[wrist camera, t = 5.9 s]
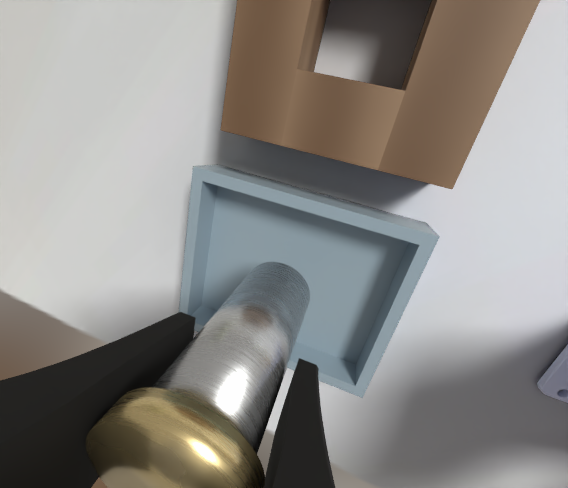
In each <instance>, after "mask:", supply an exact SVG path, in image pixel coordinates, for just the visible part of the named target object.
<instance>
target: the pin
mask: <svg viewBox="0 0 568 488" xmlns="http://www.w3.org/2000/svg"><path fill="white" fill-rule="evenodd" d="M309 302H310V291H309V287H308V284H307V282H306V280H305V279H304V278H303V276H302V275H301V274H300V273H299V272H298V271H297V270H295V269H294V268H292V267H291V266H289V265H286V264H284V263H280V262H265V263H262V264H259V265H258V266H256V267H255V268H253V269H252V271H251V272H250V273H249V274H248V275H247V276H246V278H245V279H244V280H243V281H242V282H241V283H240V285H239V286H238V287H237V288H236V289H235V290H234V292H233V293H232V294H231V295H230V296H229V297H228V299H227V300H226V301H225V302H224V303H223V305H222V306H221V307H220V308H219V309H218V310H217V312H216V313H215V314H214V315H213V316H212V317H211V319H210V320H209V321H208V322H207V323H206V324H205V326H204V327H203V328H202V329H201V330H200V332H199V333H198V334H197V335H196V336H195V337H194V339H193V340H192V341H191V342H190V343H189V344H188V346H187V347H186V348H185V349H184V350H183V351H182V353H181V354H180V355H179V356H178V357H177V359H176V360H175V361H174V362H173V363H172V364H171V366H170V367H169V368H168V369H167V370H166V371H165V373H164V374H163V375H162V376H161V377H160V378H159V380H158V381H157V382H156V383H155V384H154V386H153V387H142V388H137V389H133V390H131V391H128V392H127V393H125V394H124V395H123V396H122V397H121V398H120V399H119V400H118V401H117V402H116V403H115V404H114V405H113V406H112V408H111V409H110V410H109V411H108V412H107V413H106V414H105V415H104V416H103V417H102V418H101V419H100V420H99V421H98V422H97V424H96V425H95V426H94V427H93V428H92V429H91V430H90V431H89V433H88V435H87V437H86V451H87V454H88V457H89V460H90V462H91V464H92V466H93V468H94V469H95V471H96V473H97V474H98V476H99V477H100V478H101V480H102V481H103V482H104V483H105V485H106V486H107V487H108V488H264V485H265V475H264V470H263V467H262V464H261V462H260V460H259V458H258V456H257V452H258V449H259V446H260V444H261V441H262V438H263V435H264V432H265V429H266V426H267V423H268V421H269V418H270V415H271V412H272V409H273V406H274V403H275V400H276V397H277V395H278V392H279V389H280V386H281V383H282V380H283V377H284V374H285V371H286V369H287V366H288V363H289V360H290V357H291V354H292V351H293V348H294V346H295V343H296V340H297V337H298V334H299V331H300V328H301V325H302V322H303V320H304V317H305V314H306V311H307V308H308V305H309Z"/></svg>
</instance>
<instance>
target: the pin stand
mask: <svg viewBox="0 0 568 488" xmlns="http://www.w3.org/2000/svg"><path fill="white" fill-rule="evenodd" d="M539 2H540V0H432V1H431V4H430V7H429V10H428V12H427V15H426V18H425V21H424V24H423V27H422V30H421V33H420V36H419V39H418V41H417V44H416V47H415V50H414V53H413V56H412V59H411V62H410V65H409V68H408V70H407V73H406V76H405V79H404V82H403V85H402V88H401V90H399V89H394V88H389V87H384V86H379V85H374V84H369V83H364V82H359V81H354V80H349V79H344V78H340V77H335V76H330V75H325V74H320V73H315V72H314V68H315V64H316V59H317V55H318V51H319V47H320V42H321V38H322V34H323V29H324V25H325V21H326V16H327V12H328V8H329V3H330V0H237V7H236V15H235V22H234V30H233V38H232V45H231V53H230V61H229V69H228V76H227V84H226V92H225V100H224V107H223V115H222V123H221V130H222V131H225V132H229V133H233V134H237V135H241V136H245V137H249V138H253V139H257V140H261V141H265V142H269V143H273V144H276V145H280V146H284V147H288V148H292V149H296V150H300V151H304V152H308V153H312V154H316V155H320V156H324V157H327V158H331V159H335V160H339V161H343V162H347V163H351V164H355V165H359V166H363V167H367V168H371V169H375V170H378V171H382V172H386V173H390V174H394V175H398V176H402V177H406V178H410V179H414V180H418V181H422V182H426V183H429V184H433V185H437V186H441V187H445V188H449V189H453V187H454V185H455V182H456V180H457V178H458V176H459V174H460V172H461V170H462V167H463V165H464V163H465V161H466V159H467V157H468V154H469V152H470V150H471V148H472V146H473V144H474V142H475V139H476V137H477V135H478V133H479V131H480V129H481V126H482V124H483V122H484V120H485V118H486V116H487V114H488V111H489V109H490V107H491V105H492V103H493V101H494V99H495V96H496V94H497V92H498V90H499V88H500V86H501V83H502V81H503V79H504V77H505V75H506V73H507V71H508V68H509V66H510V64H511V62H512V60H513V58H514V55H515V53H516V51H517V49H518V47H519V45H520V43H521V40H522V38H523V36H524V34H525V32H526V30H527V28H528V25H529V23H530V21H531V19H532V17H533V15H534V12H535V10H536V8H537V6H538V4H539Z"/></svg>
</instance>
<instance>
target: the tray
mask: <svg viewBox="0 0 568 488" xmlns="http://www.w3.org/2000/svg"><path fill="white" fill-rule="evenodd" d="M438 239H439V235H438V234H437V233H436V232H435V231H434V230H433V229H432V228H431V227H430V226H429V225H428V224H427V223H425V222H421V221H417V220H414V219H410V218H407V217H403V216H400V215H396V214H392V213H389V212H385V211H382V210H378V209H374V208H371V207H367V206H364V205H360V204H357V203H353V202H349V201H346V200H342V199H339V198H335V197H332V196H328V195H324V194H321V193H317V192H314V191H310V190H307V189H303V188H299V187H296V186H292V185H289V184H285V183H281V182H278V181H274V180H271V179H267V178H264V177H260V176H256V175H253V174H249V173H246V172H242V171H239V170H235V169H231V168H228V167H224V166H221V165H204V166H193V173H192V183H191V193H190V203H189V213H188V223H187V233H186V244H185V254H184V264H183V274H182V284H181V294H180V304H179V312H183V313H185V314H188V315H190V316H193V317H195V318H196V319H195V327H194V330H195V331H197V332H200V330H201V329H202V328H203V327H204V326H205V324H206V323H207V322H208V321H209V320H210V319H211V317H212V316H213V315H214V314H215V313H216V312H217V310H218V309H219V308H220V307H221V306H222V305H223V303H224V302H225V301H226V300H227V299H228V297H229V296H230V295H231V294H232V293H233V292H234V290H235V289H236V288H237V287H238V286H239V285H240V283H241V282H242V281H243V280H244V279H245V278H246V276H247V275H248V274H249V273H250V272H251V271H252V269H253V268H255V267H256V266H258V265H259V264H262V263H265V262H280V263H284V264H286V265H289V266H291V267H292V268H294V269H295V270H297V271H298V272H299V273H300V274H301V275H302V276H303V278H304V279H305V280H306V282H307V284H308V287H309V291H310V302H309V305H308V308H307V311H306V314H305V317H304V320H303V322H302V325H301V328H300V331H299V334H298V337H297V340H296V343H295V346H294V348H293V351H292V354H291V357H290V360H289V363H288V366H287V368H289V369H292V370H294V371H295V369H296V365H297V362H298V359H299V358H300V359H303V360H305V361H308V362H311V363H313V364H316V365H317V367H318V368H319V371H318V380H319V381H322V382H324V383H326V384H329V385H331V386H334V387H336V388H339V389H341V390H344V391H346V392H349V393H351V394H354V395H356V396H359V397H361V398H363V396H364V394H365V391H366V389H367V387H368V385H369V383H370V381H371V379H372V377H373V375H374V373H375V371H376V368H377V366H378V364H379V362H380V360H381V358H382V356H383V354H384V352H385V350H386V348H387V346H388V343H389V341H390V339H391V337H392V335H393V333H394V331H395V329H396V327H397V325H398V323H399V320H400V318H401V316H402V314H403V312H404V310H405V308H406V306H407V304H408V302H409V300H410V297H411V295H412V293H413V291H414V289H415V287H416V285H417V283H418V281H419V279H420V277H421V274H422V272H423V270H424V268H425V266H426V264H427V262H428V260H429V258H430V256H431V254H432V251H433V249H434V247H435V245H436V243H437V241H438Z"/></svg>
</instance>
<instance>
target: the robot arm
mask: <svg viewBox="0 0 568 488" xmlns="http://www.w3.org/2000/svg"><path fill="white" fill-rule="evenodd" d="M195 319H196V318H195V317H193V316H190V315H188V314H185V313H183V312H179V313H177V314H175V315H172V316H170V317H168V318H166V319H164V320H162V321H159V322H157V323H155V324H153V325H151V326H148V327H146V328H144V329H142V330H139V331H137V332H135V333H133V334H130V335H128V336H126V337H124V338H121V339H119V340H117V341H114V342H112V343H109V344H107V345H104V346H102V347H99V348H97V349H94V350H92V351H89V352H87V353H84V354H81V355H79V356H76V357H74V358H71V359H68V360H65V361H62V362H60V363H57V364H54V365H51V366H48V367H44V368H42V369H38V370H36V371H32V372H29V373H26V374H23V375H19V376H16V377H12V378H8V379H5V380H1V381H0V488H91V487H92V486H93V484H94V483H95V482H96V480H97V479H98V477H99V476H98V474H97V473H96V471H95V469H94V468H93V466H92V464H91V462H90V460H89V457H88V454H87V451H86V437H87V435H88V433H89V431H90V430H91V429H92V428H93V427H94V426H95V425H96V424H97V422H98V421H99V420H100V419H101V418H102V417H103V416H104V415H105V414H106V413H107V412H108V411H109V410H110V409H111V408H112V406H113V405H114V404H115V403H116V402H117V401H118V400H119V399H120V398H121V397H122V396H123V395H124V394H125V393H127V392H128V391H131V390H133V389H137V388H142V387H153V386H154V384H155V383H156V382H157V381H158V380H159V378H160V377H161V376H162V375H163V374H164V373H165V371H166V370H167V369H168V368H169V367H170V366H171V364H172V363H173V362H174V361H175V360H176V359H177V357H178V356H179V355H180V354H181V353H182V351H183V350H184V349H185V348H186V347H187V346H188V344H189V343H190V342H191V341H192V340H193V335H194V327H195ZM318 371H319V368H318V367H317V365H316V364H313V363H311V362H308V361H305V360H303V359H300V358H299V359H298V362H297V365H296V369H295V372H294V375H293V378H292V381H291V384H290V387H289V390H288V393H287V396H286V399H285V402H284V405H283V409H282V412H281V415H280V418H279V422H278V425H277V428H276V431H275V436H274V440H273V445H272V449H271V454H270V458H269V463H268V468H267V472H266V477H265V485H264V488H335V485H334V480H333V476H332V471H331V466H330V461H329V456H328V451H327V446H326V440H325V434H324V427H323V421H322V414H321V406H320V396H319V381H318ZM537 386H538V388H539V389H540V390H541V392H542V393H543V394H545V395H547V396H549V397H552V398H555V399H558V400H560V401H563V402H566V403H568V345H567V346H566V347H565V348H564V350H563V351H562V352H561V353H560V355H559V356H558V357H557V358H556V360H555V361H554V362H553V363H552V365H551V366H550V367H549V368H548V370H547V371H546V372H545V373H544V375H543V376H542V377H541V378H540V380H539V381H538V383H537ZM563 389H564V390H563ZM559 390H562V391H559Z"/></svg>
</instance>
